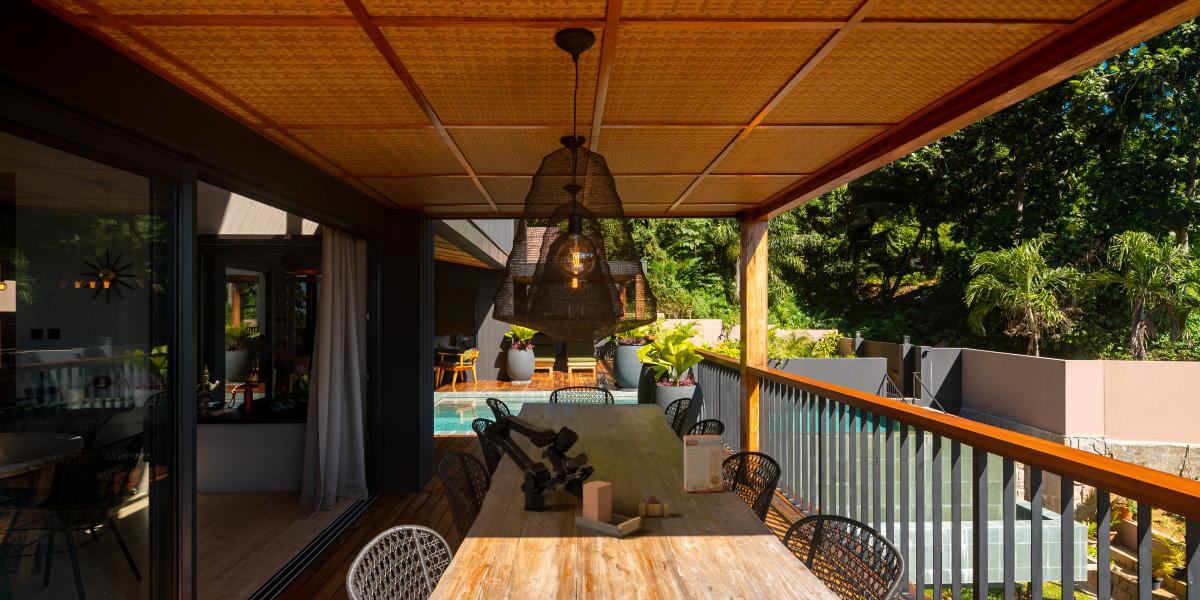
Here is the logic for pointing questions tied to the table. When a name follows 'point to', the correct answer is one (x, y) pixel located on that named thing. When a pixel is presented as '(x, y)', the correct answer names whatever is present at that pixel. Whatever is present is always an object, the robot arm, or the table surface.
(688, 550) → the table surface
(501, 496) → the table surface
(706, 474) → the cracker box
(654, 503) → the gavel
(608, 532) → the gray tray
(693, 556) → the table surface
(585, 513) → the block
